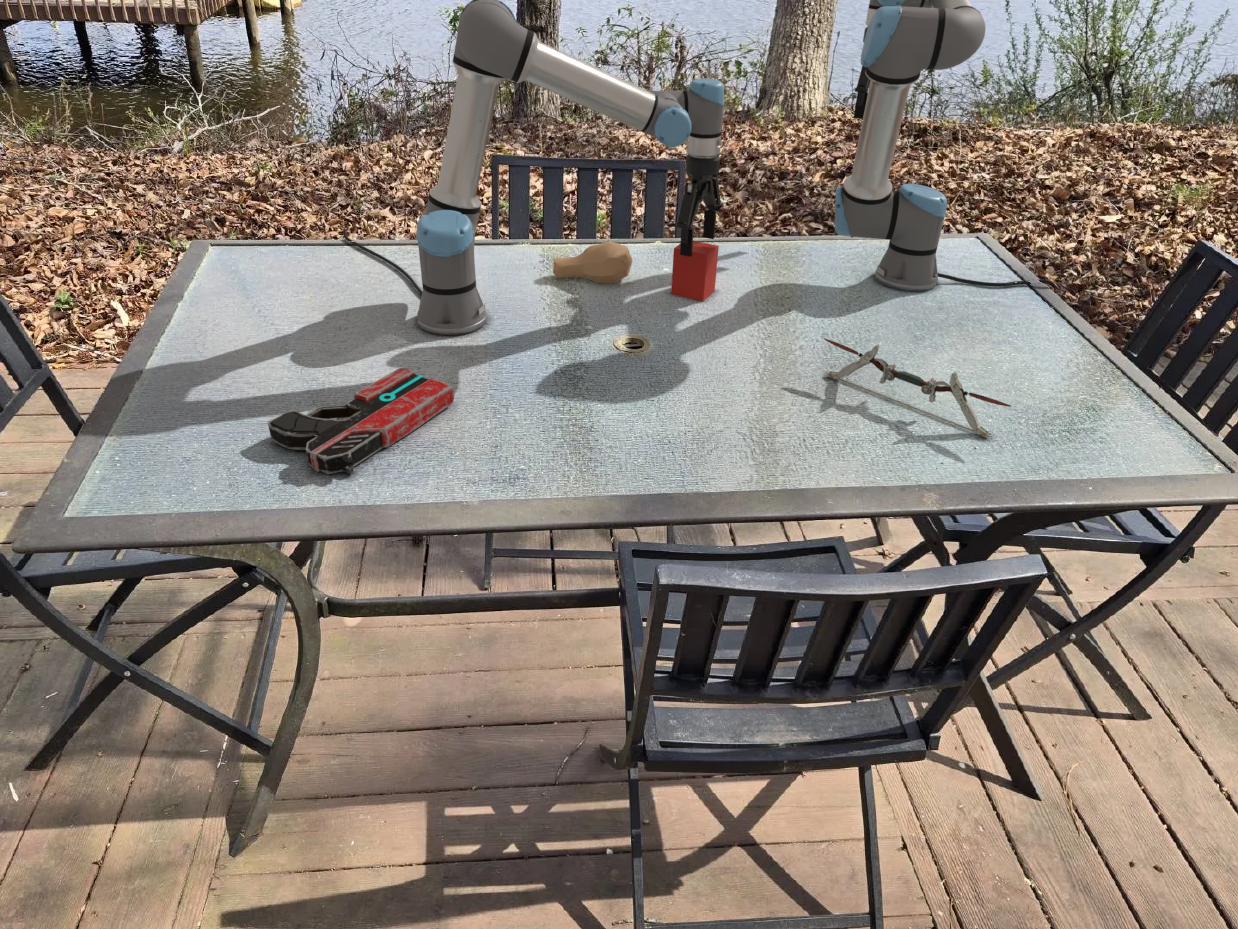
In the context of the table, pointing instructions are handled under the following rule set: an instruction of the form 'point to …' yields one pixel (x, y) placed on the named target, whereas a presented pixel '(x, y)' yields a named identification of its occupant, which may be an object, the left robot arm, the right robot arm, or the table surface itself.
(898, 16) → the right robot arm
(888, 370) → the bow
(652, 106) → the left robot arm
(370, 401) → the gun
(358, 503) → the table surface
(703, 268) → the brick
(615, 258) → the squash
